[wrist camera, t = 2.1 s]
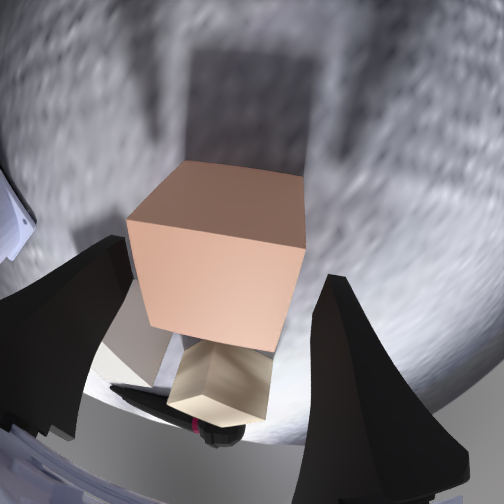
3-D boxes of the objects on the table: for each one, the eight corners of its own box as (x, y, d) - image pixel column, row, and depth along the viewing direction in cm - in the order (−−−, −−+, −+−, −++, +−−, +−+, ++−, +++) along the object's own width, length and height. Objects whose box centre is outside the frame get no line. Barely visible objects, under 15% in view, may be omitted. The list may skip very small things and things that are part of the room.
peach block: (187, 251, 14) (150, 326, 10) (185, 159, 11) (125, 219, 7) (282, 267, 14) (274, 352, 10) (303, 176, 11) (306, 249, 7)
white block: (91, 286, 18) (58, 337, 14) (137, 278, 16) (101, 340, 12) (127, 329, 20) (103, 379, 16) (174, 328, 19) (152, 387, 15)
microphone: (127, 374, 35) (255, 408, 28) (119, 408, 32) (246, 451, 25) (103, 364, 31) (240, 405, 24) (93, 401, 28) (229, 456, 21)
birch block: (184, 350, 21) (166, 404, 17) (220, 328, 18) (202, 394, 14) (232, 375, 22) (221, 427, 18) (273, 359, 20) (265, 420, 16)
